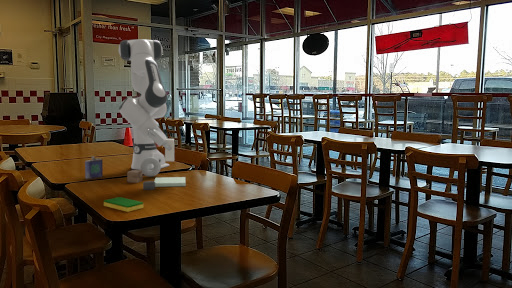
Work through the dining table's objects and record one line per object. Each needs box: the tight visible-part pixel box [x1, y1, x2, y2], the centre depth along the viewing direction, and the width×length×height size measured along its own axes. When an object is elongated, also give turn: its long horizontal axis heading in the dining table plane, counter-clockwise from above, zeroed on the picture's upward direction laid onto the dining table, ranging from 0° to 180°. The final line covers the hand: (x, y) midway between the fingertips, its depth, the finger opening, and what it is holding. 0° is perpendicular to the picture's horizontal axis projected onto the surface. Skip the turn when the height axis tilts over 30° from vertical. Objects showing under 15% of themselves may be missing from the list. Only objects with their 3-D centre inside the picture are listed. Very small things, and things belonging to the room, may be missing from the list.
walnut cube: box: [126, 169, 143, 184], centre depth 195 cm, size 5×5×5 cm
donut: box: [140, 157, 162, 178], centre depth 207 cm, size 10×3×10 cm, turn 114°
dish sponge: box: [103, 196, 144, 213], centre depth 149 cm, size 7×14×2 cm, turn 55°
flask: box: [84, 155, 104, 180], centre depth 202 cm, size 9×3×11 cm, turn 146°
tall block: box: [164, 138, 175, 162], centre depth 190 cm, size 4×4×10 cm
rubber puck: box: [142, 180, 156, 191], centre depth 179 cm, size 5×5×3 cm
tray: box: [154, 176, 186, 188], centre depth 191 cm, size 14×14×2 cm
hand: (171, 149), depth 190 cm, fingers closed on tall block, 4 cm apart
